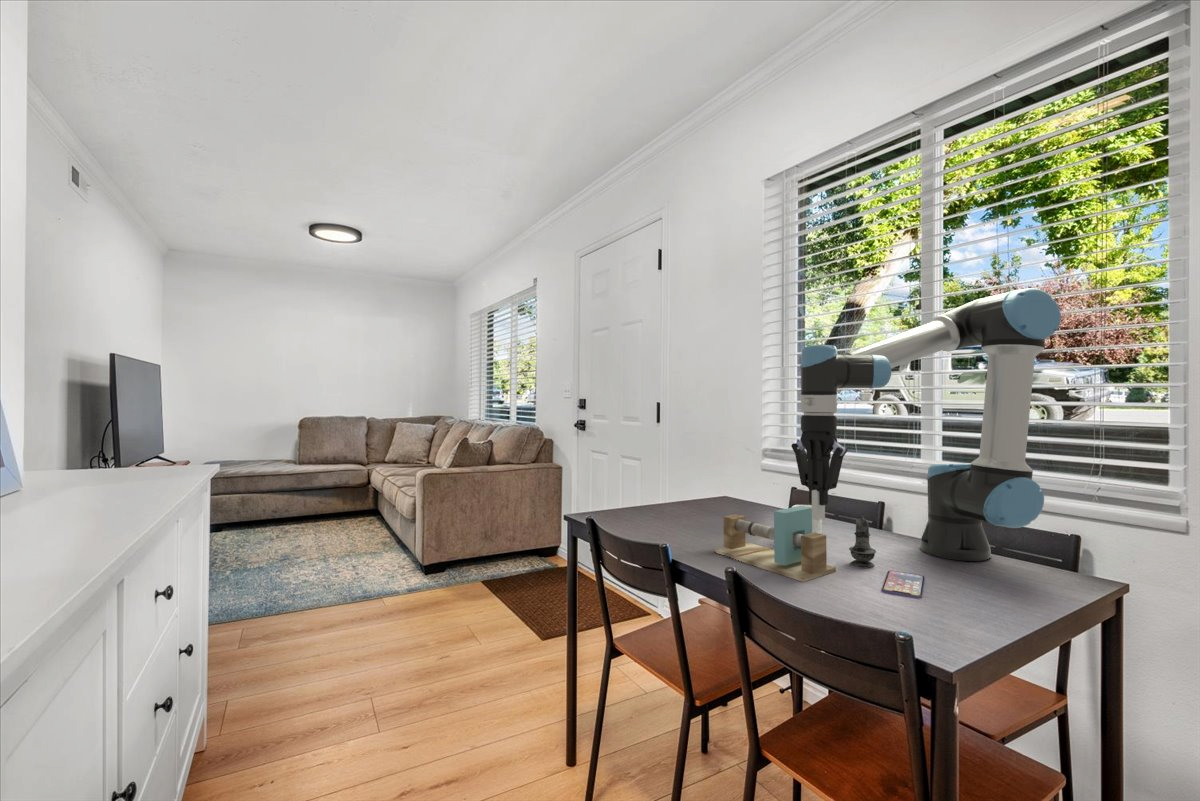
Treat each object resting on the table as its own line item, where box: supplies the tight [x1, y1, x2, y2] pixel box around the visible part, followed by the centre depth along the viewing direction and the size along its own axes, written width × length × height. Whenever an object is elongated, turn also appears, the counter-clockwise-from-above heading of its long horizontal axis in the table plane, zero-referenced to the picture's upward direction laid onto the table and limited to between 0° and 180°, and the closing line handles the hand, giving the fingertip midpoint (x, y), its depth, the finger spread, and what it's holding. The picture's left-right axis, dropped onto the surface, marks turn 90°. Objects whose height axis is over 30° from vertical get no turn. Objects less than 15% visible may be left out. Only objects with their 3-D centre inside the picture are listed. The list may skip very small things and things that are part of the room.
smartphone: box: [881, 570, 926, 599], centre depth 117 cm, size 1×7×15 cm
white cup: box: [791, 504, 823, 534], centre depth 149 cm, size 8×8×10 cm
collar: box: [773, 506, 812, 565], centre depth 128 cm, size 3×10×12 cm, turn 123°
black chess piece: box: [848, 514, 877, 569], centre depth 131 cm, size 6×6×12 cm
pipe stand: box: [713, 513, 837, 583], centre depth 134 cm, size 27×12×9 cm, turn 33°
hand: (818, 518), depth 122 cm, fingers closed
